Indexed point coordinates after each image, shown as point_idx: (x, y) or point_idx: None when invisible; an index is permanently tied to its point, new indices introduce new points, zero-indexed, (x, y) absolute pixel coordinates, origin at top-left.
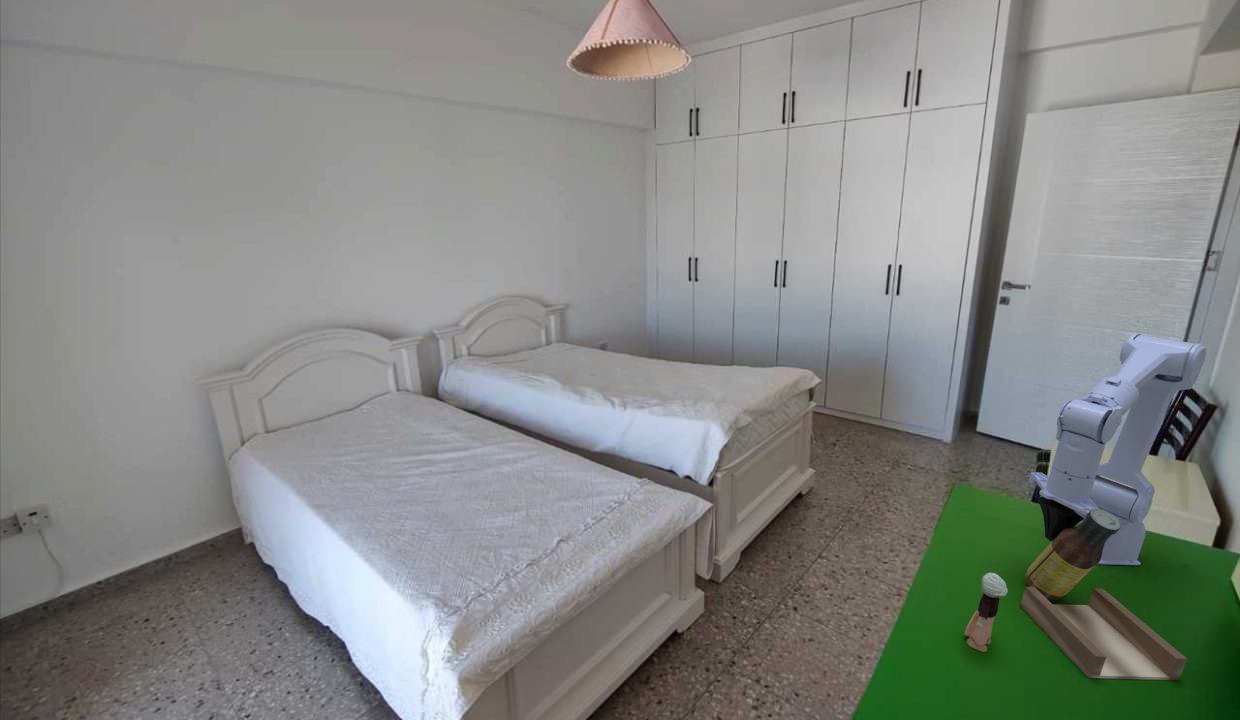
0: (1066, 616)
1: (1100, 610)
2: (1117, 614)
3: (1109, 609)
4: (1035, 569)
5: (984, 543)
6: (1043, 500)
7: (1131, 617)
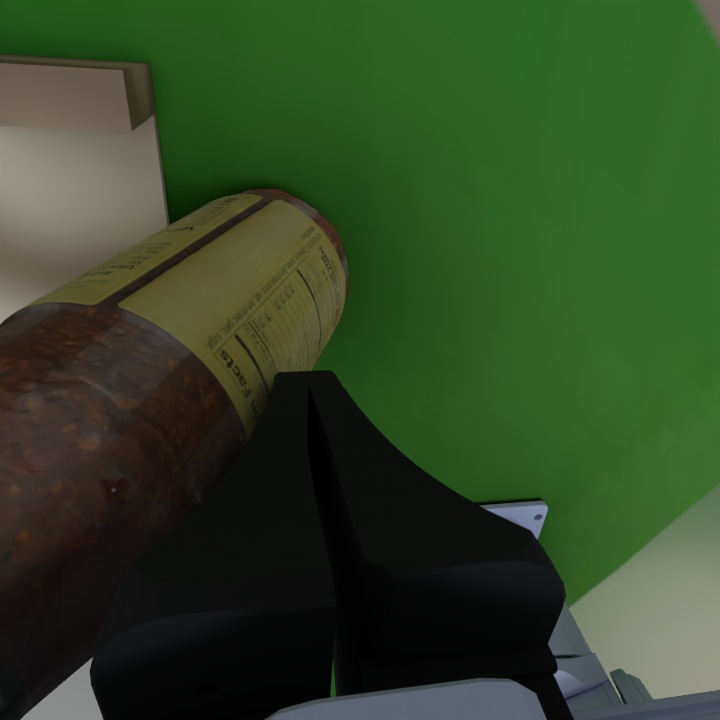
0: (89, 236)
1: None
2: None
3: None
4: (244, 219)
5: (598, 221)
6: (477, 592)
7: None
